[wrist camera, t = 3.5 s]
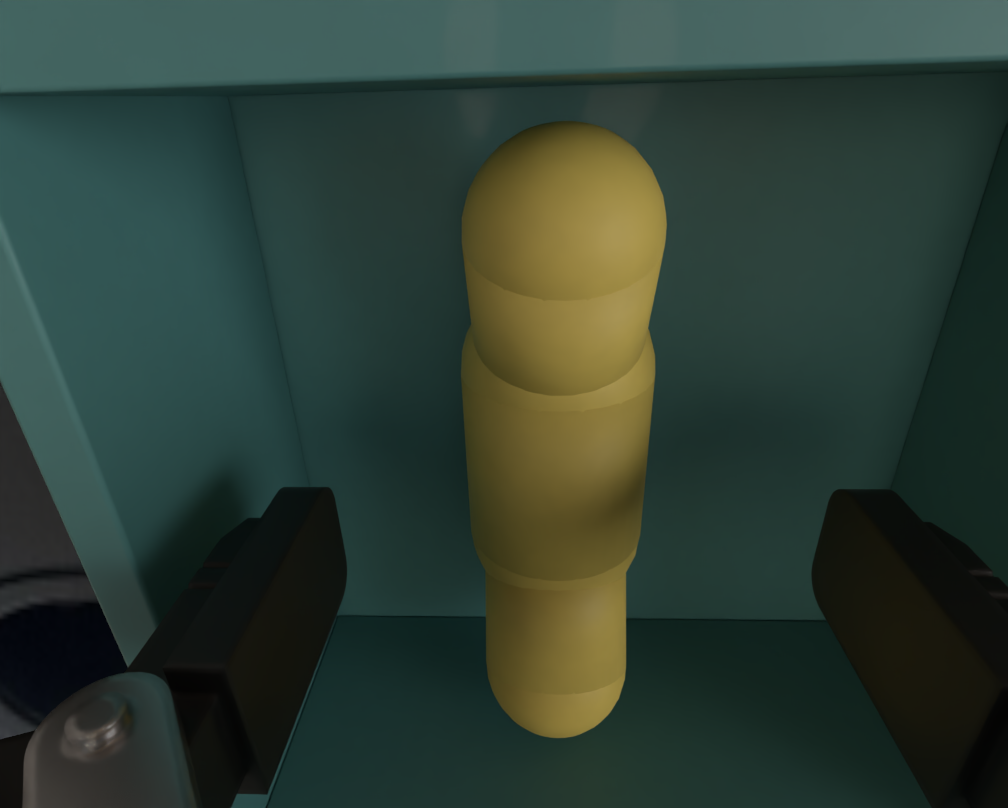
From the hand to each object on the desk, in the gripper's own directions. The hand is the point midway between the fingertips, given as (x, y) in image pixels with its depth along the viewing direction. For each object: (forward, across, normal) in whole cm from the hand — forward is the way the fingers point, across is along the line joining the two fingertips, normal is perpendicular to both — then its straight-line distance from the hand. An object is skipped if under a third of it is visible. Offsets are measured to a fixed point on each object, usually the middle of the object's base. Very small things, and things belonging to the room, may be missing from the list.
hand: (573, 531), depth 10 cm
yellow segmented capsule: (+4, 0, 0) cm, 4 cm away
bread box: (+5, -1, 0) cm, 5 cm away
